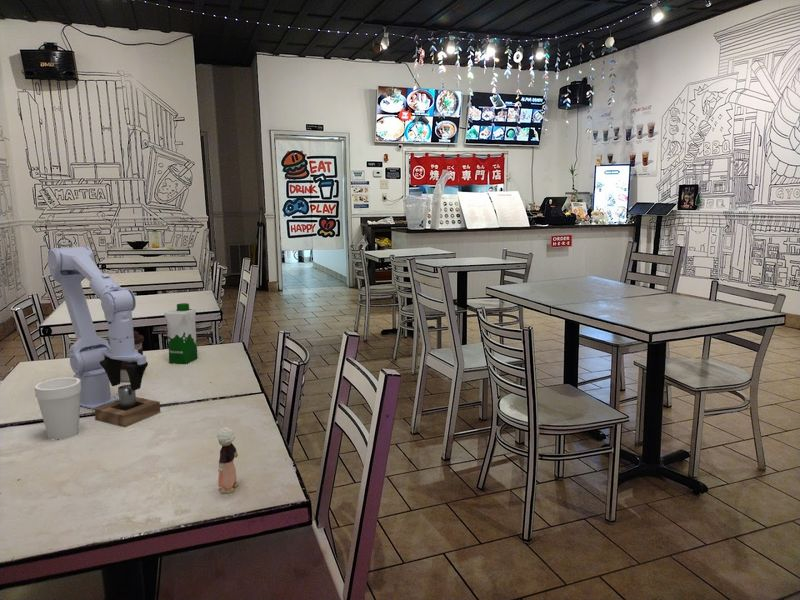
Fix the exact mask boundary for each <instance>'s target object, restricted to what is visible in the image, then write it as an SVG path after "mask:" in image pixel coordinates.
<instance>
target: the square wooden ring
mask: <svg viewBox="0 0 800 600" xmlns="http://www.w3.org/2000/svg"><path fill="white" fill-rule="evenodd" d="M160 403H161V402H160V401H157V400H152V399H147V398H145V397H143V398H142V397H137V396H136V405H137V407H135V408H132V409H130V410H127V411H124V410H120V405H119V399H118V400H117V401H114V402H111V403H109V404H106V405H103V406H100V407H98V408H95V409H94V415H95V417H94V418H95V420H96V421H99V422H103V423H107V424H110V425H114V426H117V427H118V426H120V427H122V426H123V428H127V427H129V426H131V425H134V424H136V423H139V422H142V421H144V420H145V419H149V418H150V417H151V418H152V417H153V416H155V415H158V414H160V413H161V412H162V411H161V404H160ZM143 419H144V420H143Z"/></svg>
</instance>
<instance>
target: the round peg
mask: <svg viewBox="0 0 800 600" xmlns="http://www.w3.org/2000/svg"><path fill="white" fill-rule="evenodd" d="M117 392H118V400H119V405H120V410H124V411H127V410H130V409H132V408H135V407H137V405H136V397H137V395H136V394H137V393H136V390H135V391H132V389H131V385H130V384H124V385H120V386H118V387H117Z"/></svg>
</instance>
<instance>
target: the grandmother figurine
mask: <svg viewBox="0 0 800 600" xmlns="http://www.w3.org/2000/svg"><path fill="white" fill-rule="evenodd" d="M216 436H217V440H218V444H219V445H220V446H221V449H220V451H219V460H218V477H217V487H218V488H220V487H221V488H220V490H219V492H220V494H232V493H234V492H235V488H237V487H238V486H239V483H238V481H237V480H238V479H237V471H236V470H237V469H236V466H235V458H238V457H239V453H238V451H237V448H236V446H235V445H234V444H233V442H234V441H235V440H236V434H235V432H234V430H233V429H231V428H229V427H222V428H220V429H219V431H218V432H217V434H216Z"/></svg>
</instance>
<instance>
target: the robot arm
mask: <svg viewBox="0 0 800 600" xmlns="http://www.w3.org/2000/svg"><path fill="white" fill-rule="evenodd" d="M47 264H48V268H49V271H50V274H51V277H52V281H55V282H56V283H59V285H60V289H61V291H62V292H61V293H62V295H63V298H64V301H65V305H66V308H67V311H68V315H69V318H70V321H71V325H72V328H73V332H74V335H75V337H76V340H75V342H74V343H73V344H72V345H71V346H70V348H69V349H68V354H69V355H68V356H69V364H70V368H71V369H72V372H74V375H73V378H78V379H80V380H81V392H80V407H84V408H88V409H91V410H92V409H93V410H95V409H96V408H98V407H101V406H104V405H107V404H109V403H112V402H115V401H118V400H119V397H113V396H112V395H111V387H115V386H119V385H121V373H120V372H121V364H122V361H127V362H131V364H128V365H125V366H124V368H125V369H126V371H127V373H128V376H129V379H130V382H129V385H131V389H132V391H135V392H136V391H137V390H141V387H142V380H143V376H144V374H145V371H146V369H147V367H148V365H149V362H148V361H147V356H146V355H144V354H143V355H141V354H139V353H138V350H135V345H134V333H133V331H134V326H133V325H134V324H133V313H132V312H133V311H134V310H135V308H136V305H137V300H136V296H135V294H134V292H133V291H132V290H131V289H130V288H125V287H121V286H120V284H119V283H118V282H116V281H115V279H114V278H113V277H112V276H111V275H110V274H109V273H105V272H102V271H101V270H100V268H99V267H98V266H97V264H96V263H95V257H94V252H93V251H92V248H90V247H89V246H88V245H83V246H73V247H71V246H70V247H60V248H59V247H58V248H57V247H52V248H51V249H50V250H49V251H48V254H47ZM84 279H86V280H87V281H89V286H88V287H89V289H90V290H91V291H92V292H93V293H94V294H95V296H97V298H98V300H100V301H101V302H100V305H101V309H102V311H103V314H104V319H105V321H107V328H108V339H106V338H103V337H101V336H100V335H99V336H98V335H97V331H96V329H95V325H94V323H93V319H92V316H91V312H90V308H89V305H88V302H87V299H86V295H85V292H84V290H83V286H82V280H84ZM109 343H110V345H109ZM110 386H111V387H110Z"/></svg>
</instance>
